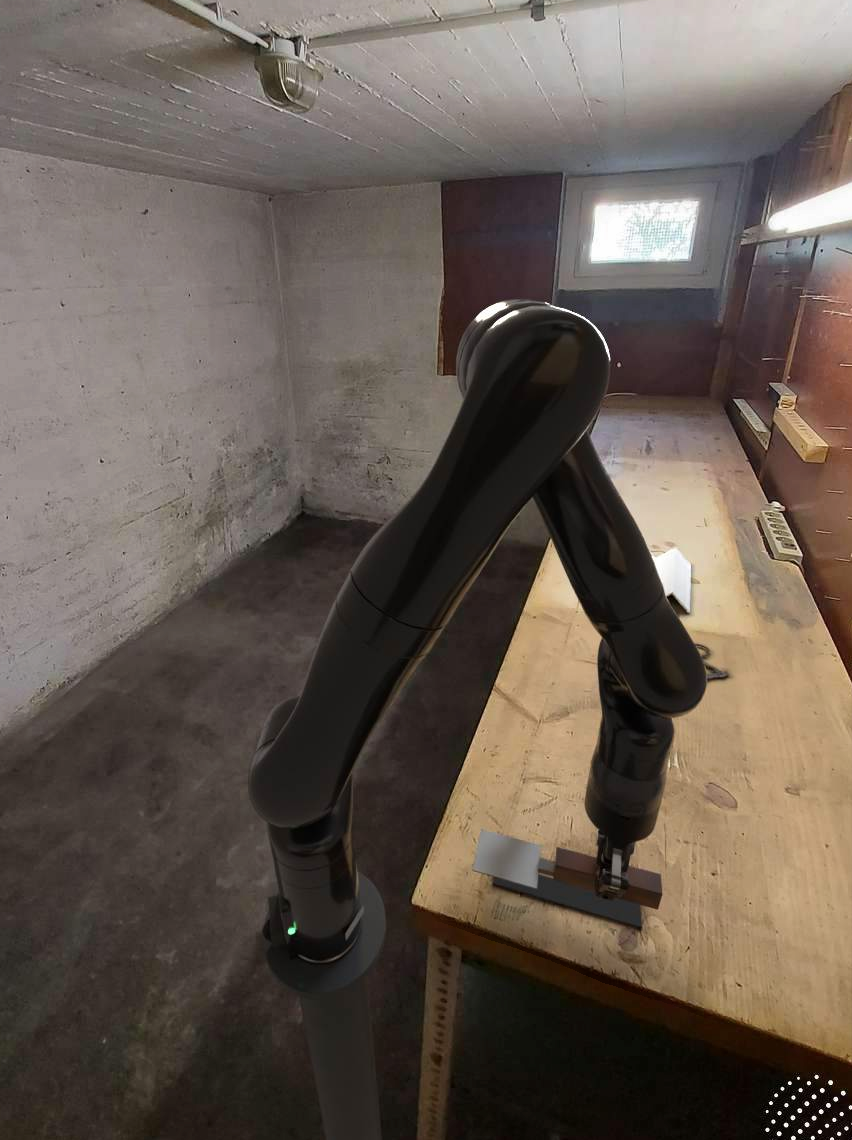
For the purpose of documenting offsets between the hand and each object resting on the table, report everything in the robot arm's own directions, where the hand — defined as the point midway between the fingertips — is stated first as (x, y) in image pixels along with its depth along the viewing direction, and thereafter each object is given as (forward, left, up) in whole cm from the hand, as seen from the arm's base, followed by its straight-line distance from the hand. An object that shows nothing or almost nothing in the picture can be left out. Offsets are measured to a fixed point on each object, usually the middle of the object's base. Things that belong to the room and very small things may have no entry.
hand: (604, 883), depth 69 cm
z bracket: (+59, +66, -4) cm, 89 cm away
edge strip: (-4, +2, -4) cm, 6 cm away
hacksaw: (+38, +37, -4) cm, 53 cm away
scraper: (-4, +3, 0) cm, 5 cm away
